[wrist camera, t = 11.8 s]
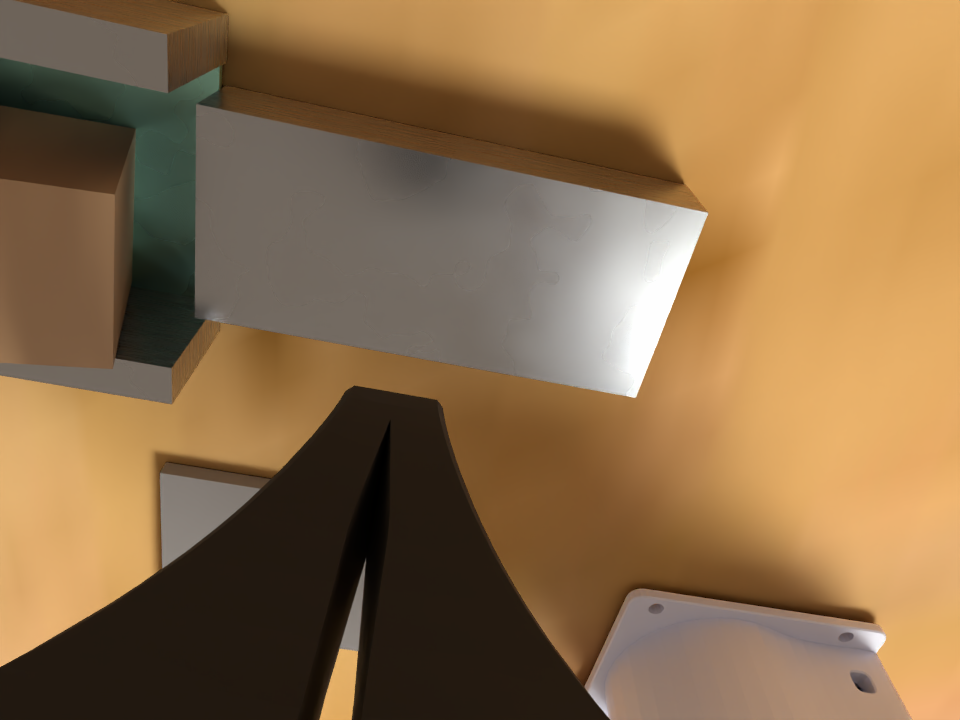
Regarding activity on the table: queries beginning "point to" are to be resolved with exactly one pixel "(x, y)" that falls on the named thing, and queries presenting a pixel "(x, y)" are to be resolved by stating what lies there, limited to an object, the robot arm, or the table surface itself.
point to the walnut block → (64, 238)
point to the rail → (342, 218)
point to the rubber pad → (218, 518)
